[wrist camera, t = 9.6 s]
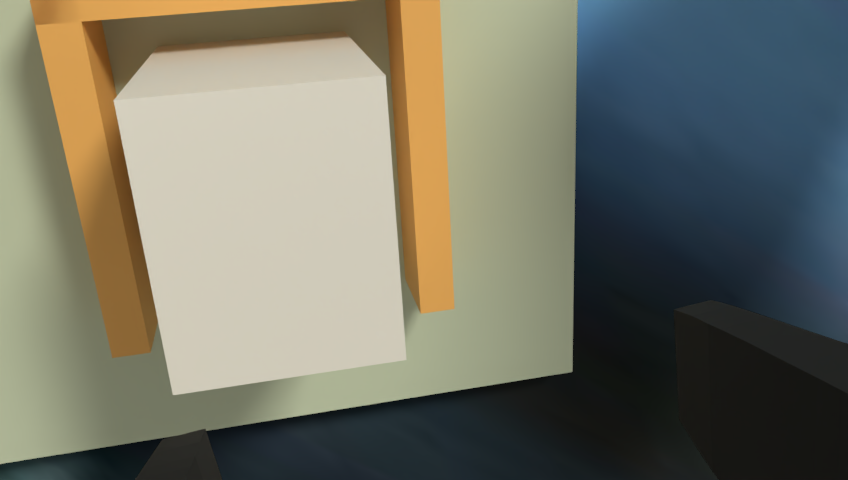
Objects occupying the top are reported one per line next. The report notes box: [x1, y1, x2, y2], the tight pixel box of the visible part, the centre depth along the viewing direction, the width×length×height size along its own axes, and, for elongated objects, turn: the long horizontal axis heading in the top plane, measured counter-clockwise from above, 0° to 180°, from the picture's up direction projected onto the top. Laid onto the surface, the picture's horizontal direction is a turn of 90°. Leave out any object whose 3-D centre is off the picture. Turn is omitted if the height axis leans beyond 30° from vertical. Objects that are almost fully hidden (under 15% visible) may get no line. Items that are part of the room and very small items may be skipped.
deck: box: [0, 0, 578, 464], centre depth 18 cm, size 15×14×3 cm
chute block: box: [114, 31, 406, 395], centre depth 16 cm, size 4×5×6 cm
